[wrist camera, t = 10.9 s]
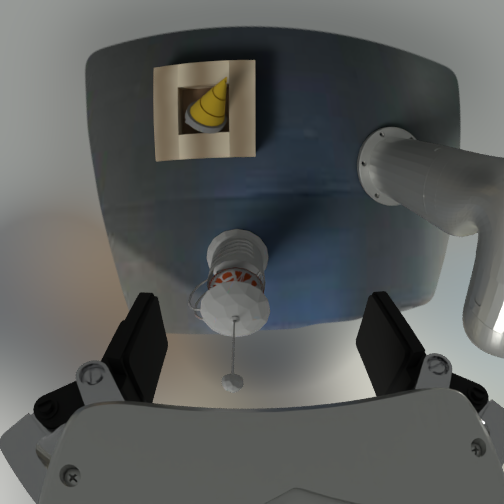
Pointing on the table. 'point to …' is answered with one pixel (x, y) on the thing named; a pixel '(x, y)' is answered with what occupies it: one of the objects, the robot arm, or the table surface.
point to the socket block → (192, 89)
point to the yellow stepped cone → (209, 110)
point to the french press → (235, 290)
